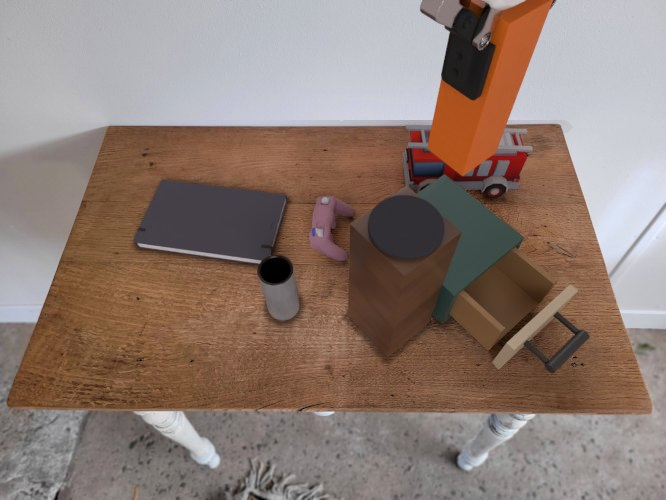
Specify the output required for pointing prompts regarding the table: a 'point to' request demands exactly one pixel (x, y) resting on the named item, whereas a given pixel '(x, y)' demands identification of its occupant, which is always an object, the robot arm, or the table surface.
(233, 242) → the notebook
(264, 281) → the planter
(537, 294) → the drawer
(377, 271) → the stand
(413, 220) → the coaster
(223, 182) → the table surface
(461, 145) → the block
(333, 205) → the video game controller
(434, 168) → the toy fire truck
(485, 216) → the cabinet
